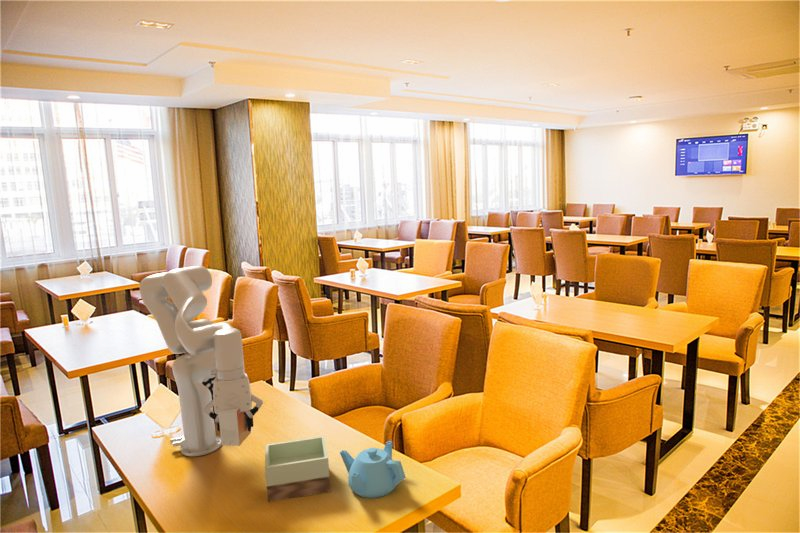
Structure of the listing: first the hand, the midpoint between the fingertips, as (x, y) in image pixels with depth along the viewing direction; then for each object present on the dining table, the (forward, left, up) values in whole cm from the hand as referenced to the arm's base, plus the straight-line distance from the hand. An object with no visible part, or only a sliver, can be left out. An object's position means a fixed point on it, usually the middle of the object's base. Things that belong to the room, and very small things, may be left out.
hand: (235, 430), depth 153 cm
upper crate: (+16, -10, -9) cm, 21 cm away
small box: (0, 0, -3) cm, 3 cm away
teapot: (+36, -17, -14) cm, 42 cm away
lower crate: (+16, -10, -14) cm, 24 cm away
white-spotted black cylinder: (-14, +43, -14) cm, 48 cm away
